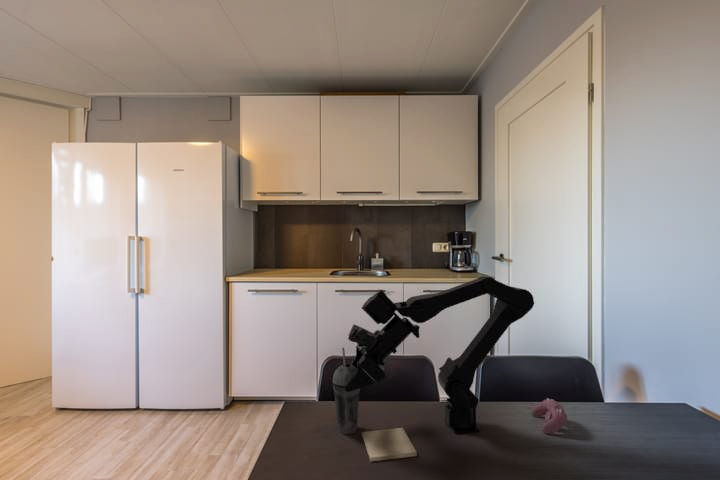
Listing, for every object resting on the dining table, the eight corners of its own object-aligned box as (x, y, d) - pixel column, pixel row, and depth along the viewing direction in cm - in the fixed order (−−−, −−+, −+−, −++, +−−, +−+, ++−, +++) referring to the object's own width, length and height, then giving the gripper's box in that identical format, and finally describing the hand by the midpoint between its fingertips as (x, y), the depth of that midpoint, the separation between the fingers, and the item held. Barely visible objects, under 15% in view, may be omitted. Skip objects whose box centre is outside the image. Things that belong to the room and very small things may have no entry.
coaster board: (402, 431, 81) (402, 427, 81) (416, 455, 71) (416, 452, 71) (361, 435, 79) (361, 432, 79) (370, 461, 70) (370, 457, 70)
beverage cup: (368, 428, 83) (367, 346, 83) (347, 441, 77) (346, 353, 78) (347, 418, 88) (346, 341, 88) (326, 429, 82) (325, 347, 83)
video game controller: (560, 443, 78) (574, 417, 78) (541, 432, 79) (555, 406, 79) (545, 422, 88) (558, 398, 88) (528, 412, 89) (541, 389, 88)
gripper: (365, 307, 93) (325, 348, 92) (369, 322, 74) (319, 373, 73) (394, 336, 93) (354, 377, 92) (405, 357, 74) (355, 409, 73)
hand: (345, 382), depth 83 cm, fingers open, 9 cm apart
